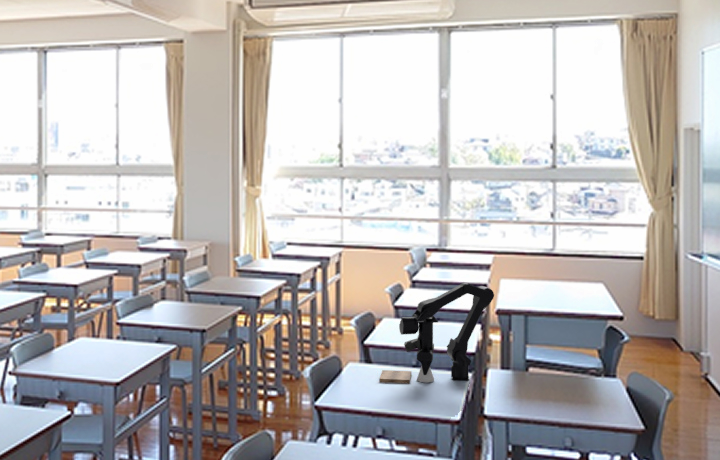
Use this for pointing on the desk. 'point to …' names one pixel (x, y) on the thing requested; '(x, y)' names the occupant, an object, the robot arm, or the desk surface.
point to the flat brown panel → (395, 376)
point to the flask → (425, 376)
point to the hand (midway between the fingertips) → (425, 371)
